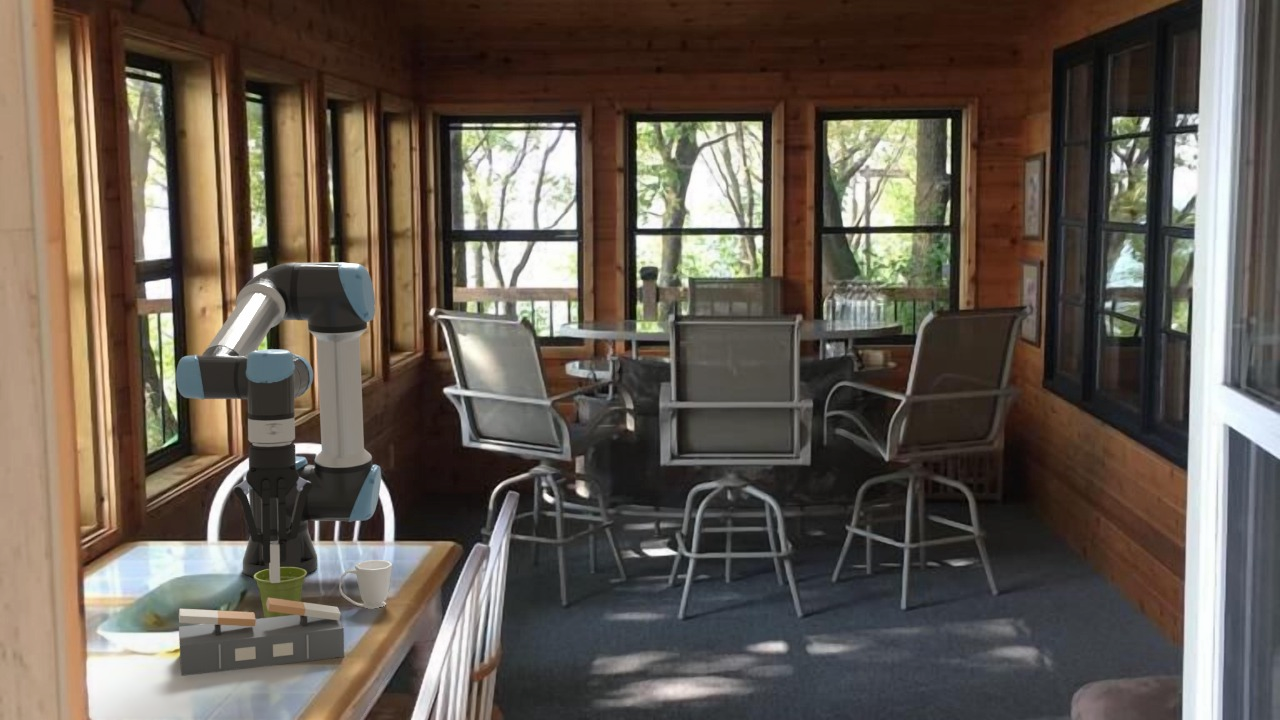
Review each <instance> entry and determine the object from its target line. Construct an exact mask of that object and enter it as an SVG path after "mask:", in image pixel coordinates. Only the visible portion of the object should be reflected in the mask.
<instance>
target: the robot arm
mask: <svg viewBox="0 0 1280 720" xmlns="http://www.w3.org/2000/svg"><path fill="white" fill-rule="evenodd" d="M375 306H376V298H375V291H374V285H373V282H372V279H371V275H370V274H369V271H368V269H366V267H365V266H363V264H360V263H352V262H351V263H350V262H349V263H348V262H343V261H342V262H341V261H340V262H336V261H335V262H331V261H330V262H287V263H286V262H285V263H281V264H278V265H275V266H273V267H270V268H268V269H265V270H264V271H262V272H260V273H259V274H257V275H255V276H254V277H253V278H251V279H250V280H249V281H248V282H247V283H246V284H245V285H244V286H243V287H242V288H241V290H240V291H239V292H238V294H237V297H236V300H235V308H233V311H232V312H231V313H230V315H229V316H228V318H227V319H226V321H225V322H224V323H223V325H222V326H221V327H220V329H219V330H218V332H217V333H216V335H215V336H214V338H213V339H212V340H211V342H210V343H209V345H208V346H207V348H206V349H205V351H203V353H202V354H201V355H200V354H199V355H198V354H193V355H185V356H183V357H181V358H180V359H179V361H178V364H177V367H176V371H175V372H176V373H175V377H176V378H175V379H176V380H175V381H176V387H177V389H178V392H179V394H180V395H181V396H182V397H183V398H185V399H196V400H197V399H198V400H199V399H200V400H202V401H203V400H247V435H248V436H247V439H248V441H249V443H250V445H249V446H248V471H247V473H246V476H245V479H244V480H243V481H241V482H240V483H239V484H237V483H236V484H234V485H233V487H232V490H233V493H234V494H235V495H236V496H237V498H238V500H239V501H240V504H241V507H242V510H243V514H244V517H245V522H246V524H247V529H248V533H249V538H248V542H247V546H246V549H245V552H244V555H243V559H242V573H244V575H246V576H248V577H252V578H254V575H255V574H256V573H257V572H259V571H262V570H265V569H269V575H270V582H271V583H280V567H296V568H301V569H304V570H306V571H307V574H309V573H312V572H314V571H315V570H316V569H317V568H318V553H317V552H316V549H315V546H314V543H313V541H312V538H311V535H310V533H309V521H314V522H323V521H324V522H348V523H352V522H358V521H359V522H360V521H368V520H369V519H371V518H372V517H373V516H374V514H375V511H376V508H377V505H378V501H379V496H380V490H381V481H382V470H381V466H380V465H377V464H373V457H372V454H371V453H370V452H369V451H368V450H367V449H365V441H364V440H365V439H364V414H363V413H364V411H363V410H364V409H363V391H362V390H363V389H362V387H363V386H362V383H363V382H362V363H361V362H362V361H361V360H362V359H361V336H362V335H363V334H364V333H365V332H366V331H367V329H368V323H369V322H370V321H373V320H374V317H375V315H376V307H375ZM282 321H307V328H308V332H309V333H310V334H312V335H313V336H314V338H315V339H316V355H317V357H316V359H317V376H318V378H317V379H318V396H319V397H318V398H319V399H318V400H319V420H320V438H321V440H320V443H321V444H320V445H321V451H320V452H319V453H318V454H317V455H316V456H315V458H314V464H309V463H308V460H307V458H306V457H305V456H296V444H295V443H294V442H293V441H294V440H295V439H296V423H295V418H296V417H295V399H297V398H299V397H301V396H303V395H305V393H306V391H308V389H310V387H311V386H312V384H313V381H314V371H313V368H312V365H311V363H310V362H309V361H308V360H307V359H306V358H304V357H303V356H302V355H299V354H294V353H292V352H291V351H289V350H287V349H276V348H275V349H274V348H271V349H259V347H260V345H262V342H263V341H264V339H265V338H266V336H267V335H268V333H269V331H270V330H271V328H274V327H276V326H278V325H279V324H280V323H281V322H282ZM258 349H259V350H258ZM248 496H249V498H248Z"/></svg>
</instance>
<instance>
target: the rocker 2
mask: <svg viewBox="0 0 1280 720" xmlns="http://www.w3.org/2000/svg"><path fill="white" fill-rule="evenodd" d="M266 605H267V609H268V611H271V612H279V613H286V614H294V615H301V616H309V617H316V618H324V619H331V620H339V619H341V612H340V610H339V607H338V606H334V605H333V606H331V605H327V604H319V603H313V602H305V601H304V602H303V601H301V602H298V601H291V600H283V599H276V598H269V597H268V598H267V602H266Z"/></svg>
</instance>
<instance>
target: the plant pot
mask: <svg viewBox="0 0 1280 720" xmlns="http://www.w3.org/2000/svg"><path fill="white" fill-rule="evenodd" d="M307 574H308V573H307V571H306V570H304V569H301V568H296V567H280V583H271V582H270V575H269V569H265V570H262V571H259V572H257V573H256V574H255V575H254V577H253V579H254V580H255V581H256V585H257V587H258V590H259V594H260V600H261V606H262V612H263V617H264V618H270V617H280V616H290V615H294V614H286V613H279V612H271V611H268V609H267V605H266V602H267V598H268V597H269V598H276V599H283V600H291V601H298V602H302V591H303V584H304V582H305V578H306V577H307Z"/></svg>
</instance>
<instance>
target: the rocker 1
mask: <svg viewBox="0 0 1280 720" xmlns="http://www.w3.org/2000/svg"><path fill="white" fill-rule="evenodd" d="M256 619H257V618H256V614H255V612H253V611H250V612H249V611H235V610H214V609H197V608H195V609H193V608H179V612H178V623H179V624H192V625H193V624H194V625H201V624H213V625H235V626H255V622H256Z"/></svg>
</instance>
